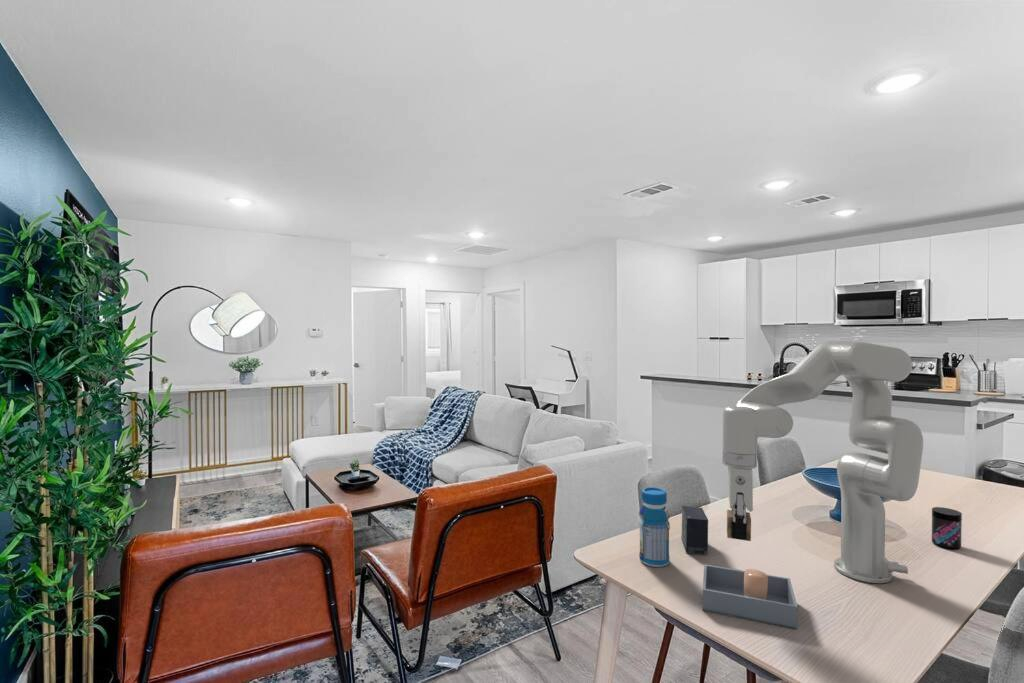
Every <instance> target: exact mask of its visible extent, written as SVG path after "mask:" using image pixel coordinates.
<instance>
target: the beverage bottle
mask: <svg viewBox="0 0 1024 683" xmlns="http://www.w3.org/2000/svg"><path fill="white" fill-rule="evenodd" d="M667 498H668V497H667V491H666V490H665V489H663V488H660V487H653V486H651V487H644V488H643V489H641V502H642V503H643V504H642V505H641V507H640V508H639V511H638V514H639V517H640V518H639V520H638V527H639V553H638V554H639V557H638V558H639V560H640V562H641V563H643V564H644V565H645V566H649V567H653V568H654V567H655V568H663V567H666V566H667V565H669V563H670V528H671V524H670V521H669V519H670V513H669V510H668V508H667V507H666V504H667V502H668V501H667Z"/></svg>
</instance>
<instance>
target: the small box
mask: <svg viewBox="0 0 1024 683" xmlns="http://www.w3.org/2000/svg"><path fill="white" fill-rule="evenodd" d="M680 538H681V541H682V545H683V548H684V550H685V553H686V554H695V555H707V556H708V553H709V519H708V516H707V515H706V513H705V511H704V508H703V507H699V506H698V507H697V506H688V505H682V506H681V537H680Z"/></svg>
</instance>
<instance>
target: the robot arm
mask: <svg viewBox="0 0 1024 683" xmlns="http://www.w3.org/2000/svg"><path fill="white" fill-rule="evenodd" d="M912 368H913V362H912V359H911V356H910V355H909V354H908V353H907V352H906V351H905V350H903V349H901V348H898V347H893V346H889V345H881V344H875V343H871V342H864V341H847V340H846V341H843V340H839V341H837V340H833V341H832V340H831V341H824V342H821V343H820V344H818V345H817V346H816V347H814V348H813V349H812V350H811V351H810V352H809V353H808V354H807V355H806V356H805V357H804V358H803V359H802V360H800V361H799V362H798V364H796V365H795V366H794V367H793V368H792V369H791V370H790V371H789V372H787V373H785V374H783V375H779V376H778V377H777V376H776V377H775V378H773V379H771V380H768V381H766V382H764V383H761V384H758V385H757V386H755V387H753V388H752V389H751V390H749V391H748V392H747V393H746V394H745V395H744V396H743V397H741V399H740V400H738V402H737V403H736V404H735V405H731V406H727V407H725V408H724V409H723V414H722V416H723V417H722V461H721V462H722V464H723V465H724V466H726V467H727V493H728V494H727V495H728V496H727V497H728V502H729V507H730V510H733V521H732V525H731V537H732V538H731V539H733V540H739V541H746V537H747V523H746V512H747V511H749V513H751V512H753V510H754V505H753V504H754V503H753V502H754V500H753V498H754V497H753V496H754V495H753V494H754V493H753V492H754V491H753V490H754V489H753V488H754V487H753V486H754V483H753V481H754V480H753V478H754V476H753V469H756V468H757V467H758V438H768V439H769V438H770V439H780V438H782V437H786V436H787V435H788V434H790V432H792V429H793V428H794V427H793V426H794V419H793V417H792V415H791V414H790V412H788V411H787V410H785V409H784V408H782V407H779V406H782V405H787V404H793V403H795V404H796V403H801V402H806V401H810V400H813V399H816V398H817V397H820V395H822V393H823V392H824V391H825V390H826V389H827V388H828V387H829V386H830V385H831V384H832V383H834V381H835V380H836V379H837V378H838V377H840V376H843V377H844V378H845V380H846V381H847V382H848V384H849V387H850V389H851V391H852V401H851V402H852V403H851V411H850V419H849V425H848V438H849V440H850V442H851V444H853V445H854V446H856V447H859V448H862V449H866V450H870V451H874V452H878V453H882V454H886V455H887V458H888V459H887V458H883V457H881V456H875V455H872V454H867V453H863V452H847V453H845V454H843V455H842V456H841V457H840V458H839V459H838V461H837V465H836V474H837V479H838V483H839V488H840V498H841V501H840V502H841V504H840V506H841V510H840V518H841V519H840V557H838V558H836V559H834V561H833V566H834V568H835V569H836V571H838V572H839V573H840V574H842V575H844V576H846V577H848V578H851V579H854V580H857V581H859V582H865V583H869V584H870V583H871V584H886V583H889V582H891V581H892V580H893V572H896V573H899V574H907V575H908V573H909V568H908V566H907V565H903V564H899V562H898V561H895V560H888V559H886V545H885V544H886V509H885V505H884V502H883V500H882V498H885V499H889V500H891V501H896V502H907V501H909V500H911V499H912V498H913V497H914V496H915V494H916V493H917V490H918V486H919V482H920V474H921V465H922V458H923V449H924V436H923V432H922V431H921V429H920V426H918V425H917V423H916V422H914V421H912V420H909V419H907V418H902V417H894V416H892V407H893V404H892V403H893V395H892V392H891V390H890V388H889V386H888V385H887V384H886V383H887V382H888V383H899V382H902V381H904V380H905V379H907V377H908V376H909V375H910V374H911V371H912ZM881 497H882V498H881ZM735 511H737V513H736V514H735Z"/></svg>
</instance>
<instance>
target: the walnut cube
mask: <svg viewBox="0 0 1024 683" xmlns="http://www.w3.org/2000/svg"><path fill="white" fill-rule="evenodd" d="M736 513H737V511H735V514H736ZM732 521H733V510H732V509H727V510H726V537H727V539H733V538H732V537H731V525H732ZM746 523H747V537H746V540H745V541H746V542H747V541H748V542H751V541H752V517H751V512H747V511H746Z"/></svg>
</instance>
